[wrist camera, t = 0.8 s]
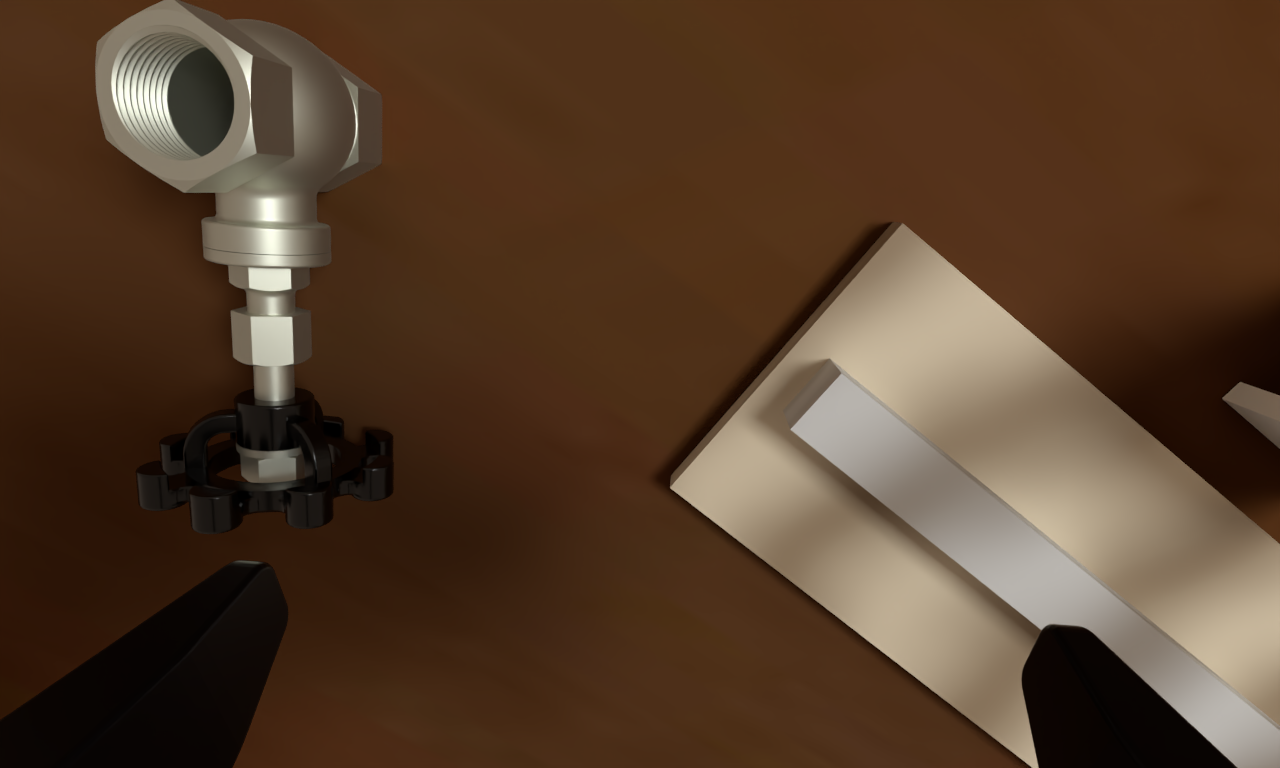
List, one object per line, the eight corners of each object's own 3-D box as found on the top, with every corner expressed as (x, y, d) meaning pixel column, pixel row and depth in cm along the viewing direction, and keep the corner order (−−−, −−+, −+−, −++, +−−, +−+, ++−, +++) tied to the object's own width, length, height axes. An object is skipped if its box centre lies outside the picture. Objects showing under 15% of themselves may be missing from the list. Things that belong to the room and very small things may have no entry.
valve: (214, 37, 21) (235, 433, 24) (7, -28, 15) (71, 519, 18) (440, 57, 21) (432, 455, 24) (327, -2, 14) (336, 551, 18)
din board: (1506, 743, 23) (1611, 814, 21) (1248, 923, 26) (1312, 1008, 23) (892, 221, 21) (922, 226, 18) (671, 475, 23) (667, 512, 21)
